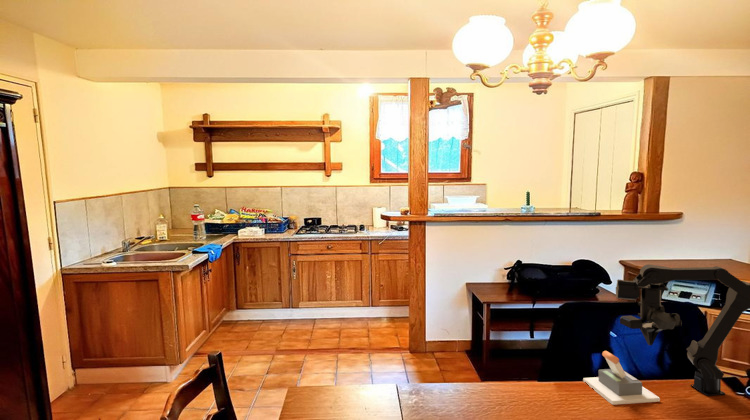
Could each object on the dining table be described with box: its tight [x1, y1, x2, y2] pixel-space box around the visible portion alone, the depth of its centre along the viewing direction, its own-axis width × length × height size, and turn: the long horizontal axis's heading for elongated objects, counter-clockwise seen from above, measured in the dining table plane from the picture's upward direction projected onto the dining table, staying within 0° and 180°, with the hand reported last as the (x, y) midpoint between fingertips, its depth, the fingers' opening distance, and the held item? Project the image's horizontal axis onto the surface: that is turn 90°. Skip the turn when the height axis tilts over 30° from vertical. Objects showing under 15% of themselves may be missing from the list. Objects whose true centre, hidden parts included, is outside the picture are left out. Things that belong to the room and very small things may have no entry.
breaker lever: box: [601, 350, 626, 378], centre depth 129 cm, size 2×5×8 cm, turn 6°
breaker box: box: [582, 368, 661, 406], centre depth 130 cm, size 16×15×5 cm
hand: (649, 344), depth 135 cm, fingers closed
